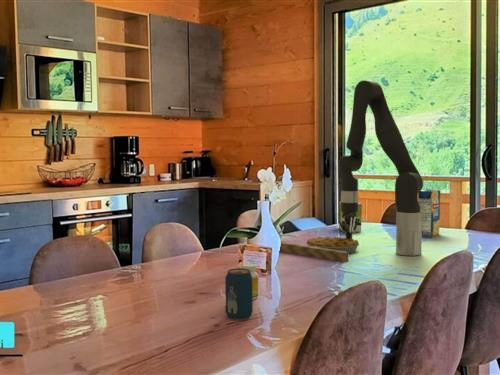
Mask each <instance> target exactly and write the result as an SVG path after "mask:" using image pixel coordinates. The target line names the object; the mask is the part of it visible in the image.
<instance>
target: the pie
mask: <svg viewBox="0 0 500 375" xmlns="http://www.w3.org/2000/svg"><path fill="white" fill-rule="evenodd" d="M359 243H360V242H359V241H358V240H357V239H355V240H354V239H353V238H352V239H351V238H350V239H347V238H346V237H339V236H334V237H333V236H332V237H329V236H325V237H321V236H318V237H315V238H314V237H313V238H309V239H307V242H306V245H307V246H314V247H320V248H327V249H333V250H340V251H346V252H348V254H353V253H355V252H356V251H357V249H358V247H359V246H360V244H359Z"/></svg>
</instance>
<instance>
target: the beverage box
mask: <svg viewBox="0 0 500 375" xmlns="http://www.w3.org/2000/svg"><path fill="white" fill-rule="evenodd" d="M418 203H419V205H420V231H422V237H430V238H431V236H432V237H435V236H438V235H440V218H441V190H440V189H422V190H421V191H420V192H419V193H418ZM437 234H438V235H437ZM434 235H435V236H434Z"/></svg>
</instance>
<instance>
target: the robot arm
mask: <svg viewBox="0 0 500 375" xmlns="http://www.w3.org/2000/svg"><path fill="white" fill-rule="evenodd" d="M353 93H354V94H353V104H352V112H351V113H352V114H351V122H350V126H349V132H348V136H347V141H346V149H347V150H349V152H350V155H348V154H347V155H346V154H345V155H342V156H341V157H340V158H339V160H338V166H337V167H338V172H339V174H340V175H339V176H340V181H341V194H340V201H341V212H343V215H342V220H339V219H338V225H339V224H340V226H341V228H342V230H343V231H345V238H347V239H350V238H351V239H353V233H354V232H353V231H354V230H356V228H357V225H358V223H359V221H360V219H359V218H357V217H356V216H357V215H356V212H358V202H359V180H358V178H357V177H355V176H354V175H353V174H354V173H353V172H358V171H359V170H360V169H361V167H362V166H363V161H364V160H363V159H364V157H363V154H364V153H363V152H364V151H363V148H364V143H365V140H366V135H367V121H366V120H367V119H366V115H367V111H368V108H369V109H370V111H371V112H372V115H373V118H374V132H375V135H376V138H377V140H378V143H379V145H380V147H381V149H382V151H383V152H384V153H385V155H386V156H387V157H388V158H389V160H390V161H391V162H392V163H393V165H394V167H395V169H396V171H397V173H398V176H397V177H396V179H395V183H394V202H395V207H396V219H395V220H396V224H395V225H396V229H395V230H396V231H395V236H396V237H395V239H396V240H395V254H396V255H400V256H411V257H412V256H413V257H416V256H419V255H422V249H423V248H422V245H423V244H422V242H423V241H422V238H423V236H422V231H420V205H419V203H418V193H419V192H420V191H421V190H423V187H424V180H423V177H422V176H421V174H420V172H419V170H418V168H417V167H416V166H415V164H414V162H413V160H412V158H411V156H410V153H409V150H408V148H407V146H406V144H405V142H404V139H403V136H402V133H401V131H400V129H399V128H398V125H397V123H396V121H395V118H394V117H393V115H392V112H391V110H390V108H389V106H388V103H387V100H386V95H385V93H384V91H383V87H382V86H381V84H380V83H379V82H377V81H375V80H365V79H364V80H360V81H359V82H358V83H357V84H356V85H355V87H354V92H353ZM342 230H341V231H342ZM343 231H342V232H343Z"/></svg>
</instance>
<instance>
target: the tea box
mask: <svg viewBox="0 0 500 375" xmlns="http://www.w3.org/2000/svg"><path fill="white" fill-rule="evenodd" d="M338 203H339V205H338V221H339V220H342V215H343V212H341V200H340V201H339V202H338ZM362 211H363V203H361V202H359V201H358V212H356V215H357V216H356V217H357V218H359V219H360V221H359V223H358V225H357V228H356V230H354V231H353V232H352V233H362V221H363V220H362V216H363V214H362V213H363V212H362ZM338 229H340V230H341V231H342V232H343V233H344V232H345V231H343V230H342V228H341V226H340V224H339V223H338ZM345 233H346V232H345Z"/></svg>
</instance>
